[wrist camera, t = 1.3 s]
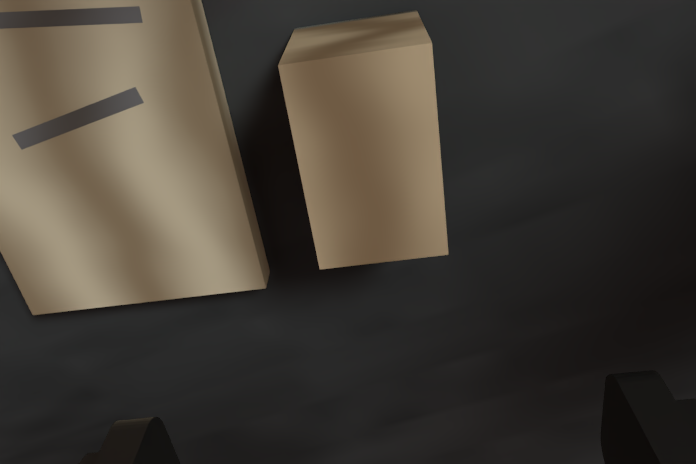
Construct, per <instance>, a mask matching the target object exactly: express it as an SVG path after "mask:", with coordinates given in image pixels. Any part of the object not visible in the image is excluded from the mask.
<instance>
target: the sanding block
mask: <svg viewBox="0 0 696 464" xmlns="http://www.w3.org/2000/svg"><path fill="white" fill-rule="evenodd" d="M278 68H279V73H280V78H281V83H282V88H283V93H284V97H285V102H286V107H287V112H288V117H289V122H290V127H291V132H292V137H293V141H294V146H295V151H296V156H297V161H298V166H299V171H300V176H301V181H302V185H303V190H304V195H305V200H306V205H307V210H308V215H309V220H310V225H311V229H312V234H313V239H314V244H315V249H316V254H317V259H318V264H319V268H320V269H329V268H338V267H346V266H355V265H363V264H372V263H381V262H389V261H398V260H406V259H415V258H424V257H432V256H441V255H448V243H447V230H446V217H445V204H444V191H443V179H442V166H441V153H440V140H439V127H438V114H437V101H436V88H435V76H434V63H433V50H432V42H431V40H430V38H429V35H428V33H427V31H426V29H425V27H424V25H423V23H422V21H421V19H420V16H419V14H418V12H417V10H413V11H407V12H400V13H394V14H387V15H380V16H374V17H367V18H361V19H354V20H348V21H341V22H334V23H328V24H321V25H315V26H308V27H301V28H295V29H294V31H293V33H292V36H291V38H290V40H289V42H288V44H287V47H286V49H285V51H284V53H283V55H282V58H281V60H280V62H279V64H278Z"/></svg>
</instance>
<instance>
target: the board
mask: <svg viewBox="0 0 696 464" xmlns="http://www.w3.org/2000/svg"><path fill="white" fill-rule="evenodd" d="M0 251H1V253H2V255H3V257H4V259H5V261H6V263H7V265H8V267H9V269H10V271H11V273H12V275H13V277H14V279H15V281H16V283H17V285H18V287H19V289H20V291H21V293H22V295H23V297H24V299H25V301H26V303H27V305H28V307H29V309H30V311H31V313H32V314H33V315H39V314H47V313H56V312H65V311H73V310H82V309H91V308H100V307H108V306H117V305H126V304H134V303H143V302H152V301H160V300H169V299H178V298H186V297H195V296H204V295H213V294H221V293H230V292H239V291H247V290H256V289H265V288H266V286H267V282H268V278H269V273H270V269H269V265H268V262H267V258H266V254H265V250H264V246H263V242H262V238H261V234H260V230H259V226H258V222H257V218H256V214H255V210H254V206H253V202H252V199H251V195H250V191H249V187H248V183H247V179H246V175H245V171H244V167H243V163H242V159H241V155H240V151H239V147H238V143H237V139H236V135H235V132H234V128H233V124H232V120H231V116H230V112H229V108H228V104H227V100H226V96H225V92H224V88H223V84H222V80H221V76H220V72H219V68H218V65H217V61H216V57H215V53H214V49H213V45H212V41H211V37H210V33H209V29H208V25H207V21H206V17H205V13H204V9H203V5H202V2H201V0H0Z"/></svg>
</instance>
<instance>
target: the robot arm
mask: <svg viewBox="0 0 696 464" xmlns="http://www.w3.org/2000/svg"><path fill="white" fill-rule="evenodd" d="M601 446H602V452H603V457H604V461H605V464H696V400H695V399H686V400H675V399H674V397H673V396H672V394H671V392H670V391H669V389H668V388H667V386H666V384H665V383H664V381H663V379H662V378H661V377H660V375H659V374H658V373H657V372H656V371H653V370H651V371H641V372H631V373H620V374H610V375H608V376H607V377H606V381H605V391H604V402H603V414H602V425H601ZM78 464H180V462H179V459H178V457H177V455H176V452H175V450H174V447H173V445H172V443H171V440H170V438H169V435H168V433H167V431H166V428H165V426H164V424H163V422H162V420H161V419H160V418H158V417H151V418H141V419H131V420H120V421H116V422H115V423H114V424H113V425H112V426H111V428H110V430H109V432H108V434H107V436H106V439H105V441H104V443H103V445H102V447H101V450H100V452H97V453H88V454H87V455H86V456H85V457H84V458H83V459H82V460H81V461H80V462H79V463H78Z"/></svg>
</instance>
